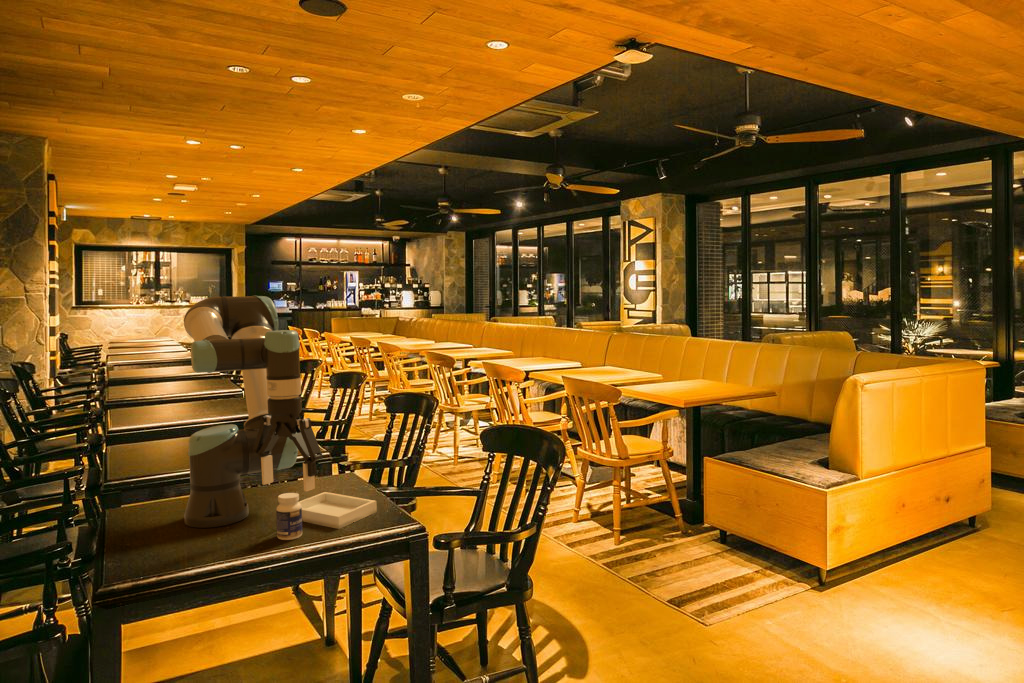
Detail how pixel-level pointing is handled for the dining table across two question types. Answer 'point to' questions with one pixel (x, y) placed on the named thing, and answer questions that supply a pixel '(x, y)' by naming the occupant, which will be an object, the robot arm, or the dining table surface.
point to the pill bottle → (289, 516)
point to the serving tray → (336, 509)
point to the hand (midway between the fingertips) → (288, 486)
